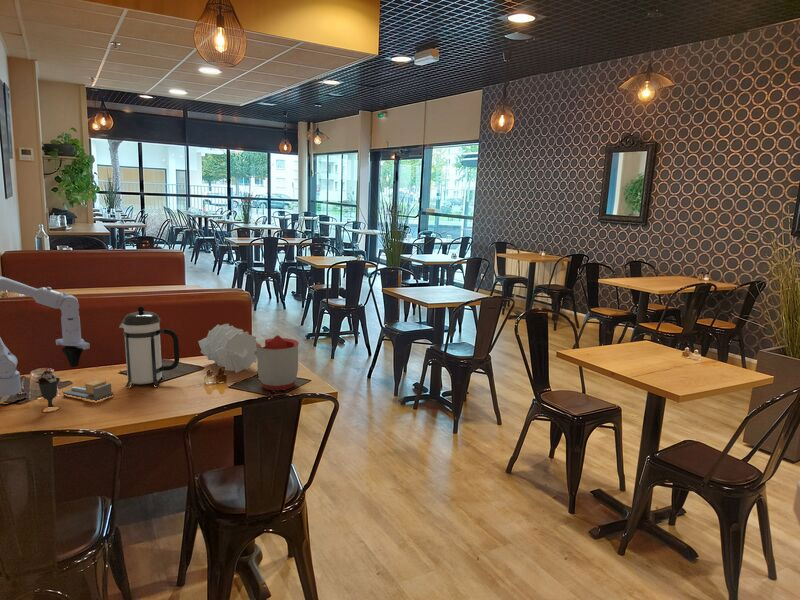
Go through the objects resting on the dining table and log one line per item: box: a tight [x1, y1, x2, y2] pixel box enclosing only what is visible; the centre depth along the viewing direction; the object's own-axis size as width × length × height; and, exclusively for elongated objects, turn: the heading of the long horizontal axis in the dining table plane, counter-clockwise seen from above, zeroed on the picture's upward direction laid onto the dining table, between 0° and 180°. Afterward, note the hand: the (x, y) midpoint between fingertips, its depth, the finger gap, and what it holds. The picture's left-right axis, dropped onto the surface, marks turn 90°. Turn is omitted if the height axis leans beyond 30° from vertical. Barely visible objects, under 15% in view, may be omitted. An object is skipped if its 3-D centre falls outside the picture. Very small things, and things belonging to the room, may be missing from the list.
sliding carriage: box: [84, 379, 107, 395], centre depth 195 cm, size 4×5×4 cm
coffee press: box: [119, 305, 180, 388], centre depth 210 cm, size 17×16×30 cm
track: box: [62, 382, 115, 401], centre depth 197 cm, size 16×7×5 cm, turn 68°
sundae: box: [35, 364, 61, 407], centre depth 184 cm, size 7×7×15 cm
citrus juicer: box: [254, 334, 300, 391], centre depth 211 cm, size 16×17×20 cm
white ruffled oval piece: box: [198, 323, 258, 374], centre depth 234 cm, size 18×18×25 cm
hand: (74, 366), depth 201 cm, fingers closed
